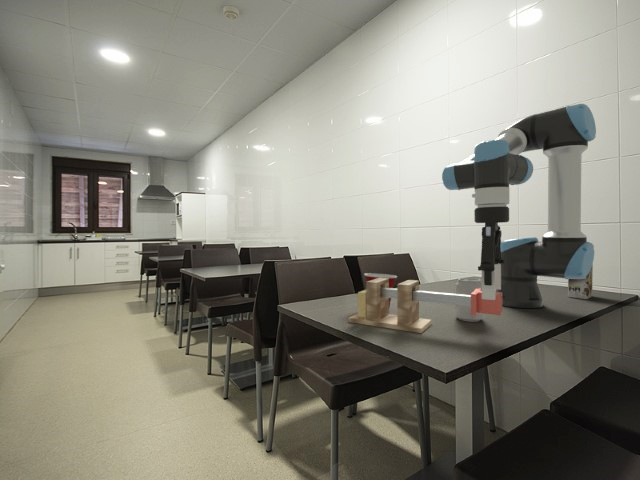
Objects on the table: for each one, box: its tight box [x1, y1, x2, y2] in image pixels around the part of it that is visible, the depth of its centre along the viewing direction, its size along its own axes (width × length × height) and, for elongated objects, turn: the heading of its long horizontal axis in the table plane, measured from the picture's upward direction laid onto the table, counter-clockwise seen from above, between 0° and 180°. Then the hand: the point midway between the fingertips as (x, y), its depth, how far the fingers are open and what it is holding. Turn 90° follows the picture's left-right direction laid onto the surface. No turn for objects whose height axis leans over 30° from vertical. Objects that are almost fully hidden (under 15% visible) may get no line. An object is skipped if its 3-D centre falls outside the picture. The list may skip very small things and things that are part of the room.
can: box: [455, 277, 484, 323], centre depth 101 cm, size 8×8×12 cm
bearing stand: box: [348, 278, 433, 334], centre depth 97 cm, size 21×10×12 cm, turn 58°
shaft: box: [381, 287, 503, 316], centre depth 90 cm, size 31×9×5 cm, turn 58°
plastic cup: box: [364, 272, 398, 309], centre depth 114 cm, size 11×11×12 cm
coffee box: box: [567, 264, 594, 300], centre depth 133 cm, size 9×6×16 cm
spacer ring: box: [357, 289, 366, 319], centre depth 101 cm, size 2×7×7 cm, turn 148°
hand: (491, 293), depth 84 cm, fingers open, 13 cm apart
